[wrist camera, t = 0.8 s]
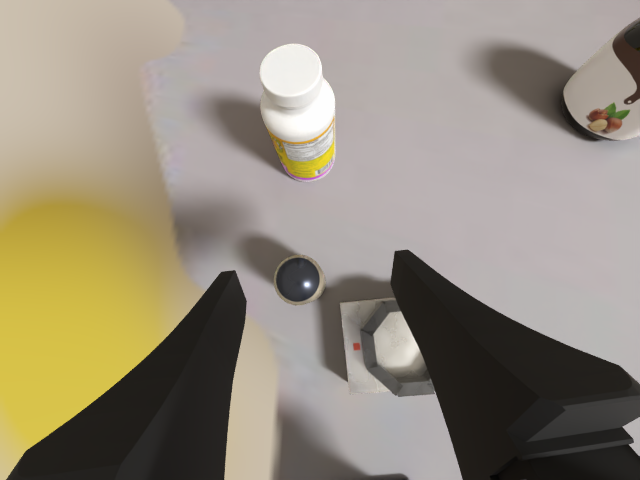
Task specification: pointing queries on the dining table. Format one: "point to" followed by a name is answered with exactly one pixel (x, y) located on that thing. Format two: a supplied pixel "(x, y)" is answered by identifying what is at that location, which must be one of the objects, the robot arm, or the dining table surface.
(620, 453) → the robot arm
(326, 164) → the supplement bottle
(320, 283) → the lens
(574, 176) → the dining table surface
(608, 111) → the spread jar
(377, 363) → the white knob box
